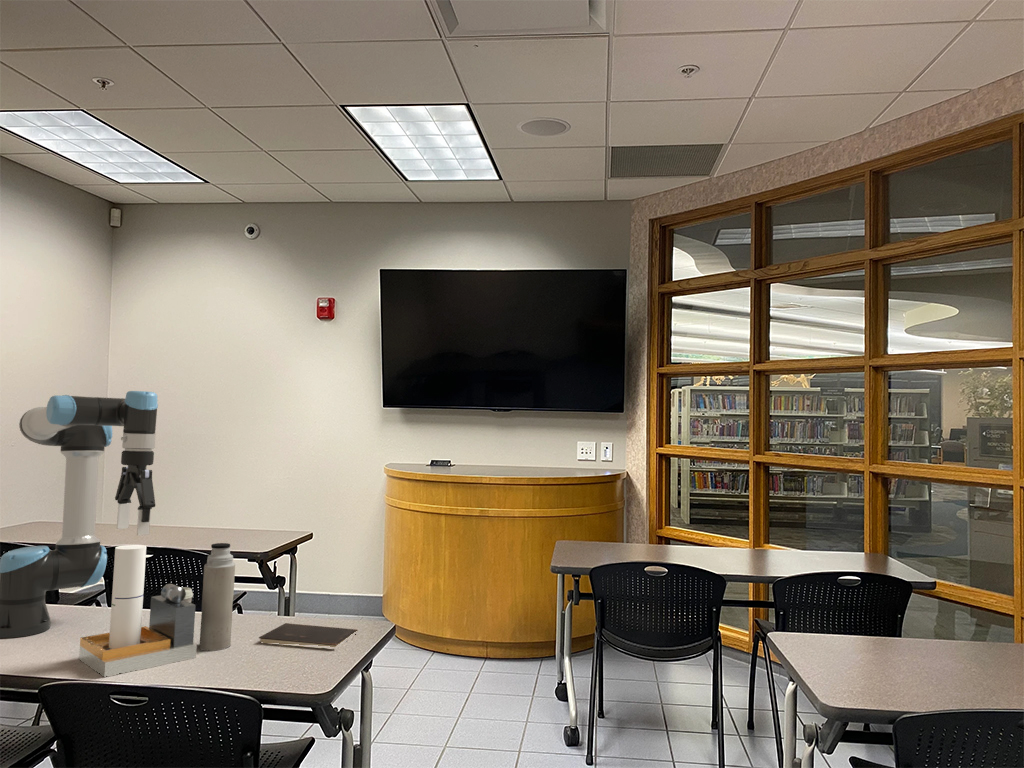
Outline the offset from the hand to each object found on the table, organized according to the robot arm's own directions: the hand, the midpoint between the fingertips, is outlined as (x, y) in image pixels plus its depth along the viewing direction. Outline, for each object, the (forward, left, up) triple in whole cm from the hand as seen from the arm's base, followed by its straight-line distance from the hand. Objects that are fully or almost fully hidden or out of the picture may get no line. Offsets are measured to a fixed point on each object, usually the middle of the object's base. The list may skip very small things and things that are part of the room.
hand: (132, 531), depth 184 cm
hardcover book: (+15, +45, -33) cm, 58 cm away
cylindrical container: (0, 0, -29) cm, 29 cm away
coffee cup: (-17, +20, -33) cm, 42 cm away
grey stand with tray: (+1, +3, -33) cm, 33 cm away
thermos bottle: (+4, +22, -33) cm, 40 cm away
